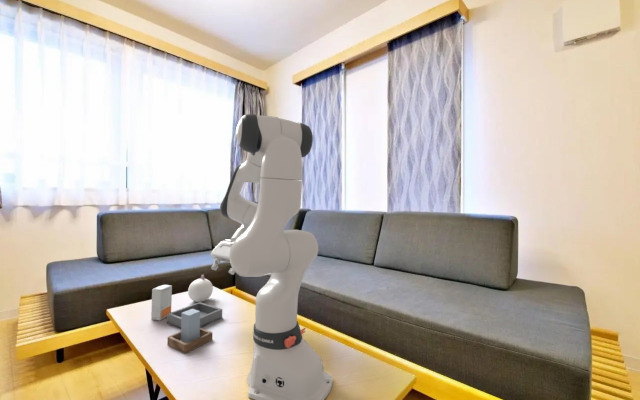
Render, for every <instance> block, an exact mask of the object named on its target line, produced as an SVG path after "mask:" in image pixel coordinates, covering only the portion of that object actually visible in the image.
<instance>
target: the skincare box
mask: <svg viewBox="0 0 640 400" xmlns="http://www.w3.org/2000/svg"><path fill="white" fill-rule="evenodd" d="M172 293H173V285H171V284H170V285H169V284H162V285H158V286H157V287H154V288H152V289H151V312H150V313H151V316H150V319H151V320H155V321H162V320H163V319H165V318H167V314H168V313H171V312H172V301H173V299H172V295H173V294H172Z"/></svg>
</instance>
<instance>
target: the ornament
mask: <svg viewBox="0 0 640 400" xmlns="http://www.w3.org/2000/svg"><path fill="white" fill-rule="evenodd" d="M213 290H214V288H213V283H212V282H211V281H210V280H209V279H207V278H205V274H201V276H200V278H197V279H195V280H193V281H191V283H190V284H189V287H188V289H187V295H188V297H189V298H190V300H191V301H194V302H195V303H199V302H201V303H203V302H205V301H206V300H208V299H209V298H210V297H211V296H212V293H213V292H214V291H213Z"/></svg>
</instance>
